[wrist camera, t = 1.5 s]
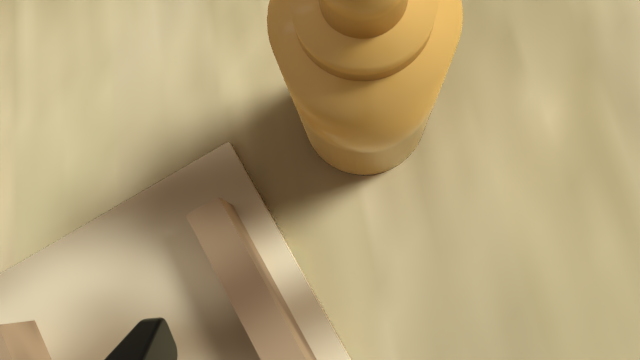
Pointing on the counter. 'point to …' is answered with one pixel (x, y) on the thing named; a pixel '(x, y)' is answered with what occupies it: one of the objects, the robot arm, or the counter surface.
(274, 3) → the amber bottle
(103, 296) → the u rest
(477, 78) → the counter surface
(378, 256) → the counter surface
